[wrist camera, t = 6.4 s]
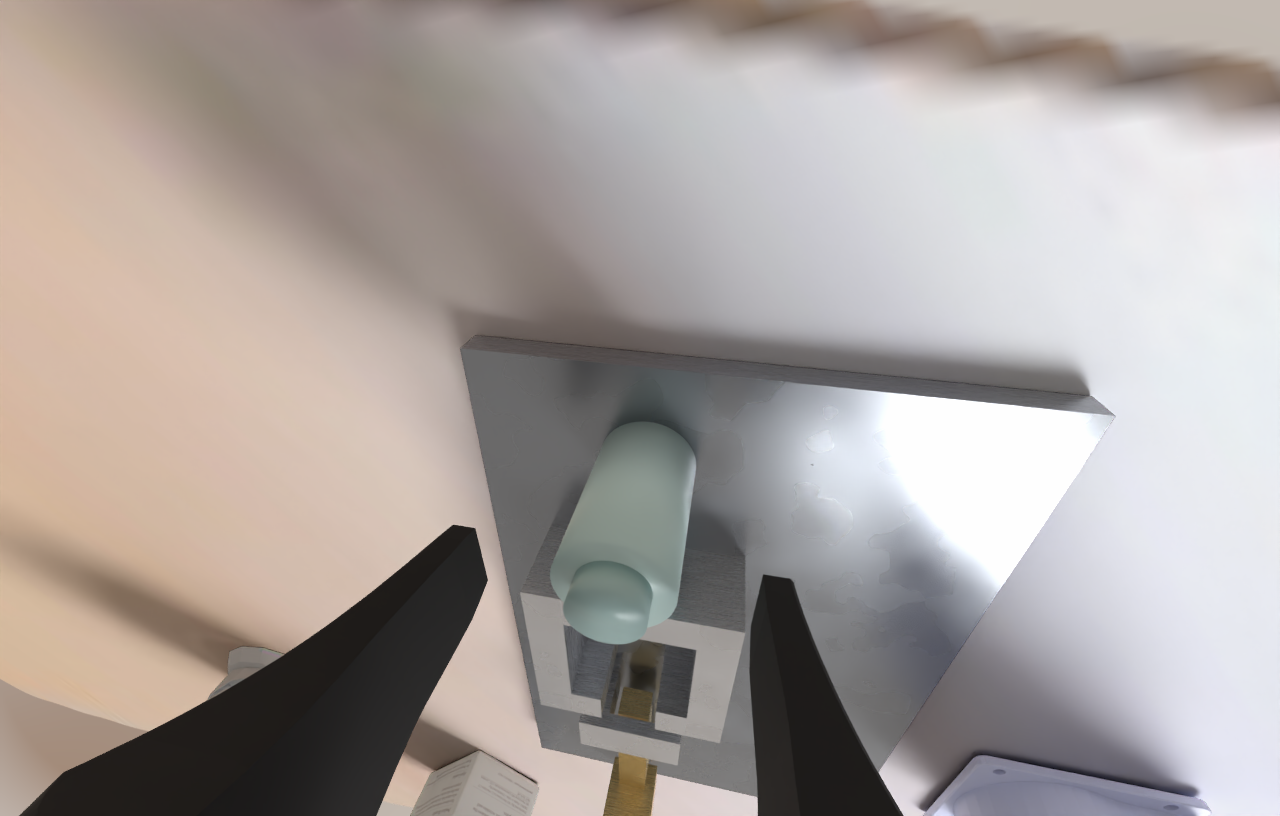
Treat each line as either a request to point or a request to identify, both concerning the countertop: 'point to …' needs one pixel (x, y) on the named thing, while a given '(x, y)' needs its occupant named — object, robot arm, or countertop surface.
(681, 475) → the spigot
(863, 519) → the dock
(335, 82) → the countertop surface
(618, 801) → the pin
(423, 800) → the skincare box
